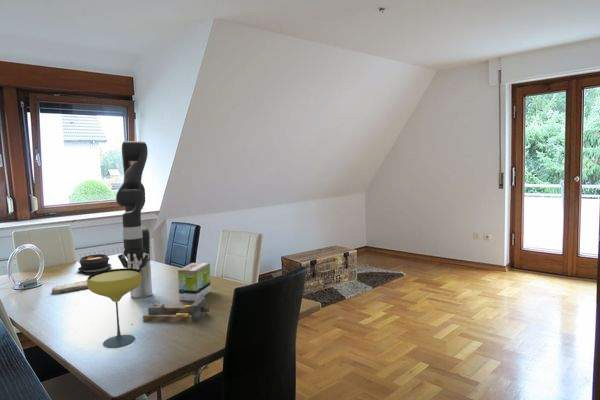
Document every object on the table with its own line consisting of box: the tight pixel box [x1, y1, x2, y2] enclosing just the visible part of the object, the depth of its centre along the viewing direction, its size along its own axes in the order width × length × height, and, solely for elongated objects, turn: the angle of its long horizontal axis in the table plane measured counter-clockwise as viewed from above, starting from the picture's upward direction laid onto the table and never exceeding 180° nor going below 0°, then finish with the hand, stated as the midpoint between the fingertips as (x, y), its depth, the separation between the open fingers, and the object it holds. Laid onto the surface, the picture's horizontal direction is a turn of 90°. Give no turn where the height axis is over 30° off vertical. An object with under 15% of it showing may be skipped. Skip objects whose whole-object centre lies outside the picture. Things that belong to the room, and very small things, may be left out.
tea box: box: [177, 262, 212, 302], centre depth 204 cm, size 15×10×15 cm
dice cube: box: [147, 302, 166, 315], centre depth 178 cm, size 5×5×5 cm
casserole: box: [77, 253, 112, 273], centre depth 260 cm, size 25×19×8 cm
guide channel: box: [142, 296, 210, 324], centre depth 177 cm, size 26×11×7 cm, turn 84°
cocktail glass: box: [86, 267, 142, 349], centre depth 153 cm, size 18×18×25 cm
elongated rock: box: [51, 279, 89, 295], centre depth 226 cm, size 35×5×10 cm
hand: (135, 277), depth 177 cm, fingers open, 2 cm apart
